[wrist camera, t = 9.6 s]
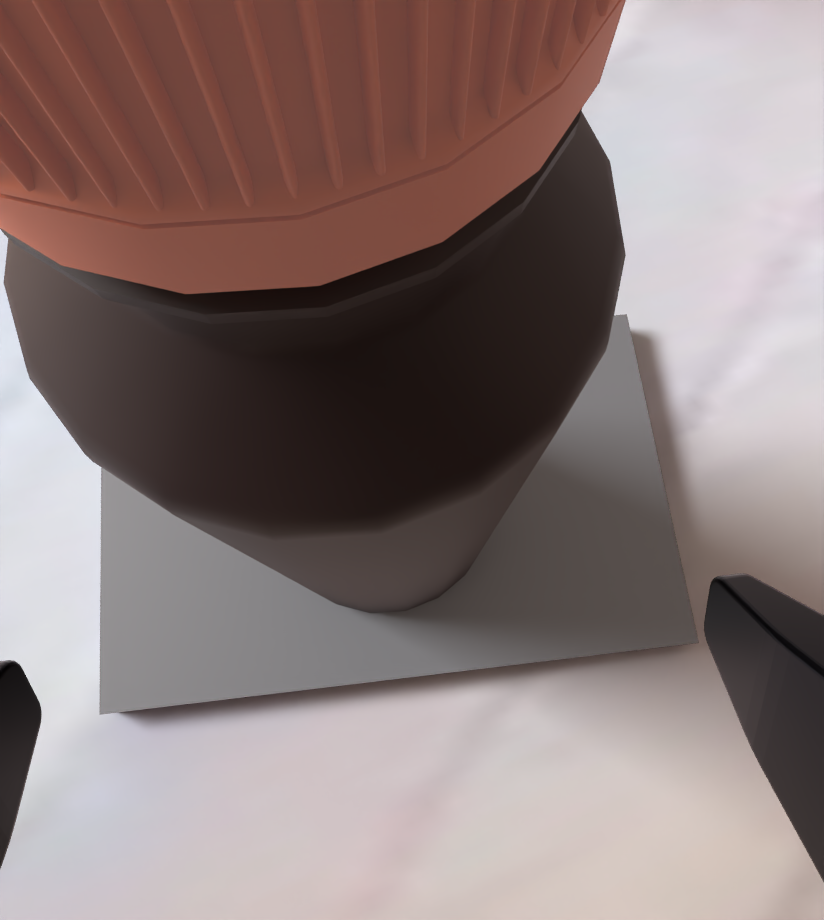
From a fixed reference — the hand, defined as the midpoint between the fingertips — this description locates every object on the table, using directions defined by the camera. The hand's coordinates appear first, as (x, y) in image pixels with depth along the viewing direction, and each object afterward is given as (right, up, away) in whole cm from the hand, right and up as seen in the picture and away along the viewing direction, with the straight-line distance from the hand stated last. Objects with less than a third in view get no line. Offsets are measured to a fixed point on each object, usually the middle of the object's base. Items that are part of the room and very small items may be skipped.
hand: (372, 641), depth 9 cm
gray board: (0, +1, +14) cm, 14 cm away
